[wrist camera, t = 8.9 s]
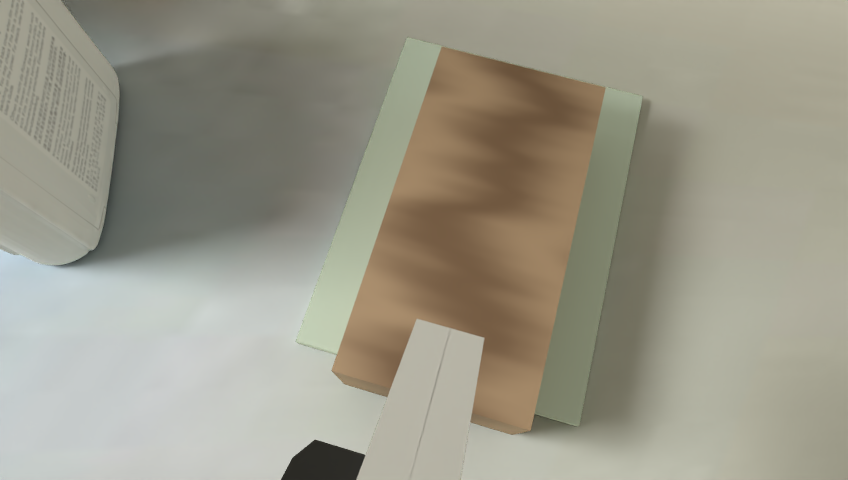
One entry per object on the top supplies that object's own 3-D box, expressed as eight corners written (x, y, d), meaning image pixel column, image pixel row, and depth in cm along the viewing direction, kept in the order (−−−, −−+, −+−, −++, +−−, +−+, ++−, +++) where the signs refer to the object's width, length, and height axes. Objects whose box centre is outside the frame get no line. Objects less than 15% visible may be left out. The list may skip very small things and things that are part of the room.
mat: (297, 343, 25) (295, 341, 25) (407, 43, 31) (407, 37, 30) (576, 426, 24) (579, 425, 24) (639, 101, 30) (643, 96, 29)
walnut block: (331, 370, 20) (441, 46, 25) (344, 383, 24) (438, 99, 29) (530, 430, 20) (605, 87, 25) (512, 434, 24) (580, 136, 28)
